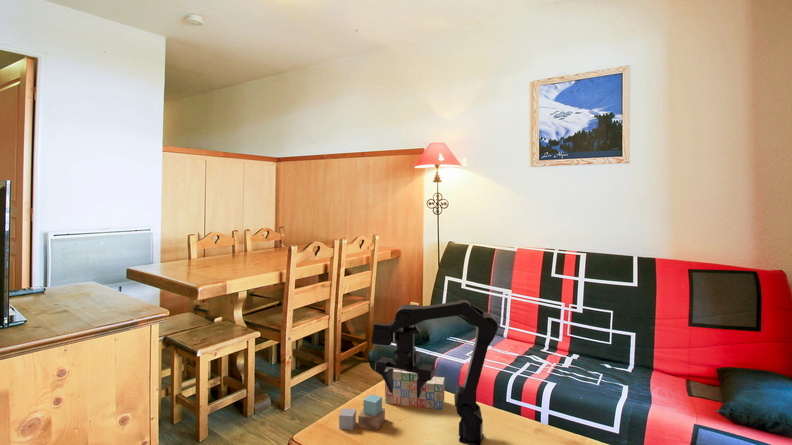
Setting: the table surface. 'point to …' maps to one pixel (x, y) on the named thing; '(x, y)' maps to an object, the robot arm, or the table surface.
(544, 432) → the table surface
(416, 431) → the table surface
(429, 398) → the stack of blocks
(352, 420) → the light grey cube
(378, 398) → the teal cube
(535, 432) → the table surface
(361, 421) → the walnut block
